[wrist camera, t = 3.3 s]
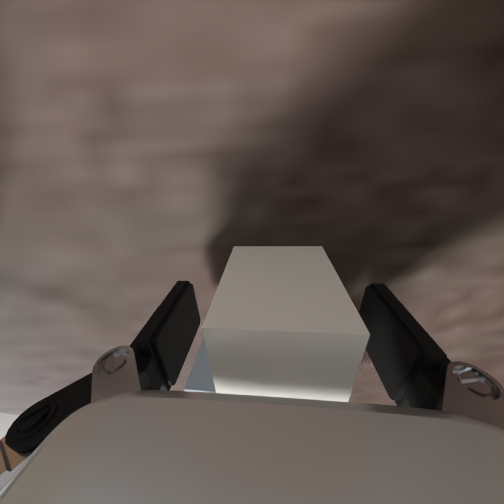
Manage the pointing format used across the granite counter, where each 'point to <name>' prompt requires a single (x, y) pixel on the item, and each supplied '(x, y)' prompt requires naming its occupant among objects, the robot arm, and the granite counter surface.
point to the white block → (283, 326)
